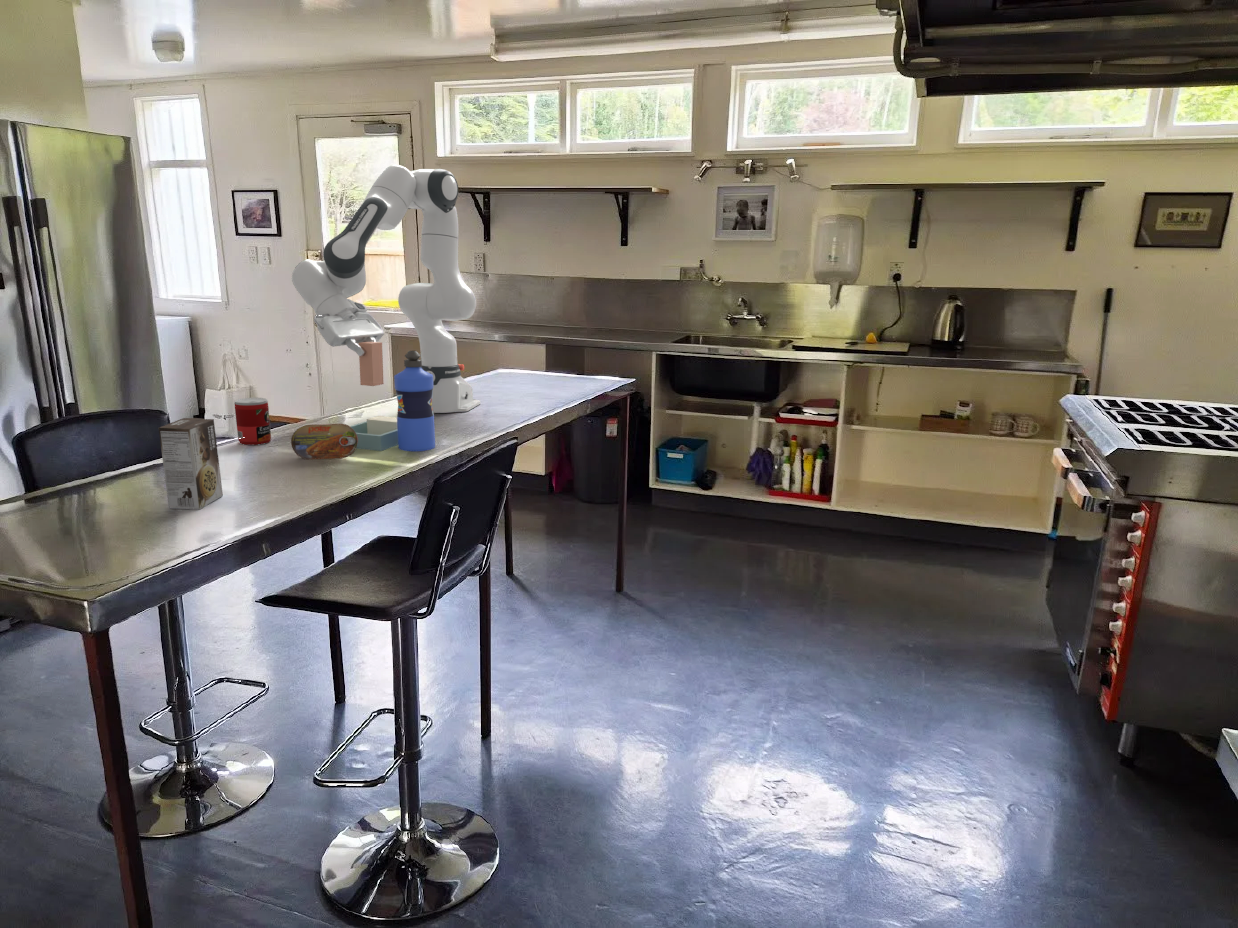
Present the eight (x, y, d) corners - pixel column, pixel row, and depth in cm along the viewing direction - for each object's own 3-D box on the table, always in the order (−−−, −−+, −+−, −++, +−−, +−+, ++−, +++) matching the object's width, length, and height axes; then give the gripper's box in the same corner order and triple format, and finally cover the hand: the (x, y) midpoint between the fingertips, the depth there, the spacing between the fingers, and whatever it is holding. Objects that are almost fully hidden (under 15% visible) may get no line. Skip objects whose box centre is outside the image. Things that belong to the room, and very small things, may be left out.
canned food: (263, 445, 205) (259, 403, 202) (232, 445, 205) (228, 402, 202) (276, 439, 212) (273, 397, 210) (246, 438, 213) (242, 397, 210)
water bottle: (401, 455, 198) (396, 354, 191) (395, 447, 206) (390, 349, 200) (439, 452, 202) (435, 352, 195) (431, 444, 210) (427, 348, 203)
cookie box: (192, 495, 164) (183, 417, 160) (224, 496, 164) (215, 418, 159) (167, 509, 155) (156, 427, 151) (200, 510, 155) (190, 427, 151)
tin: (292, 460, 192) (289, 425, 190) (294, 457, 195) (291, 423, 193) (358, 458, 195) (356, 424, 193) (359, 455, 198) (357, 421, 196)
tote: (377, 434, 220) (376, 418, 219) (421, 439, 216) (420, 422, 214) (334, 448, 203) (332, 431, 202) (381, 454, 199) (380, 436, 198)
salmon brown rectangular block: (370, 383, 215) (369, 341, 213) (383, 384, 214) (382, 342, 211) (360, 385, 211) (358, 342, 209) (373, 386, 210) (371, 343, 207)
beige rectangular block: (379, 434, 217) (378, 415, 215) (408, 437, 214) (407, 418, 213) (367, 437, 212) (366, 419, 211) (397, 441, 209) (396, 422, 208)
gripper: (317, 306, 201) (351, 348, 200) (368, 304, 219) (400, 342, 219) (303, 324, 203) (337, 365, 202) (355, 320, 222) (386, 358, 221)
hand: (370, 353), depth 211 cm, fingers closed on salmon brown rectangular block, 4 cm apart
